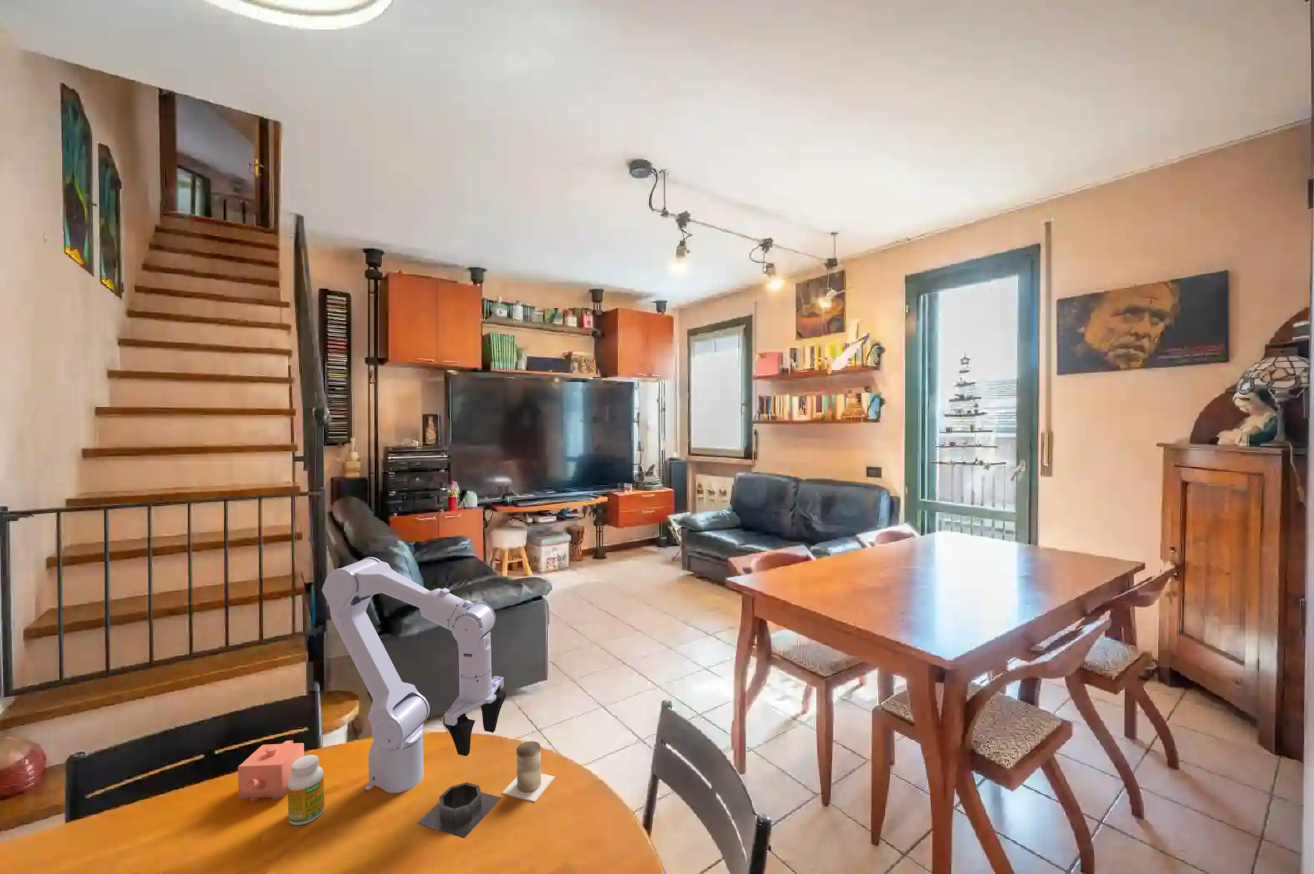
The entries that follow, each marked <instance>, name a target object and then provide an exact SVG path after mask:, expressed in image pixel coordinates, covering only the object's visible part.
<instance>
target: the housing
mask: <svg viewBox="0 0 1314 874" xmlns="http://www.w3.org/2000/svg"><path fill="white" fill-rule="evenodd" d="M438 798H439V799H438V801H439V802H437V804H436V805H435V806H434V807H432V808H431V809H430V810H429V811H428V812H427V813H426V814H425V815H423V817H422V818H421V819H419V820H418V822H417V823H416V824H417V825H421V826H424V827H426V828H427V827H428V828H430V829H434V830H436V831H439V832H442V833H443V832H444V833H446V834H450V835H453V836H456V837H459V838H462V839H465V838H466V837H467V836H468V835H469V834H470V833H471V832H472V831H473V829H474V828H476V827H477V825H478V824H480V822H481V821H482V820H483V819H484V818H485V817H486V815H487V814H488V813H489V812H490V811H492V809H493V808H494V807H495V806H496V805H497V803H498V802H499V801H500V800H501V799H502V797H500V796H497V795H493V794H490V793H486V792H481V788H480V785H478V784H475V783H471V782H468V781H466V782H462V783H460V784H456V785H452V786H450V787H448V788H447V789H446V790H445V791H444V792H443V793H442V794H441V795H440V796H438Z"/></svg>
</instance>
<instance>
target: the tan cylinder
mask: <svg viewBox="0 0 1314 874" xmlns="http://www.w3.org/2000/svg"><path fill="white" fill-rule="evenodd" d="M541 749H542V748H541V744H540V743H539V742H537V741H533V740H532V741H530V740H529V741H526V742H525V741H524V742H522V743H520V744H519V745H518V746H517V748H516V777H517V788H518V790H519V791H521V792H525V793H528V792H532V791H535V790H537V789H538V788H539V787H540V785H541V773H542V764H541V762H542V761H541V760H542V759H541V751H542V750H541Z"/></svg>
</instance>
